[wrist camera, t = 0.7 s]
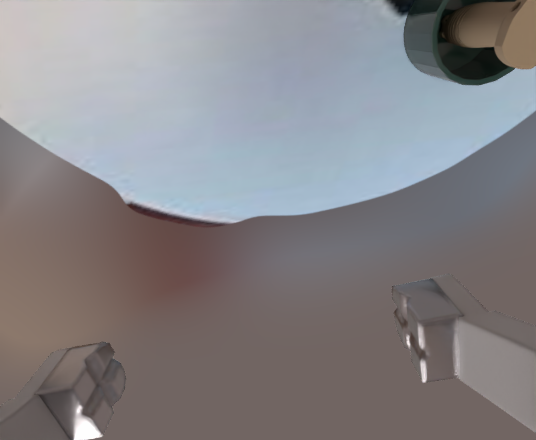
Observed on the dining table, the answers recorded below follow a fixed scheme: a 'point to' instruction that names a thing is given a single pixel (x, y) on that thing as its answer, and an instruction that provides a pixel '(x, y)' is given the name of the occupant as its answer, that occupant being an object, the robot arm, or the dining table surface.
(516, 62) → the handle
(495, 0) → the crock
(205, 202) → the dining table surface
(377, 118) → the dining table surface
